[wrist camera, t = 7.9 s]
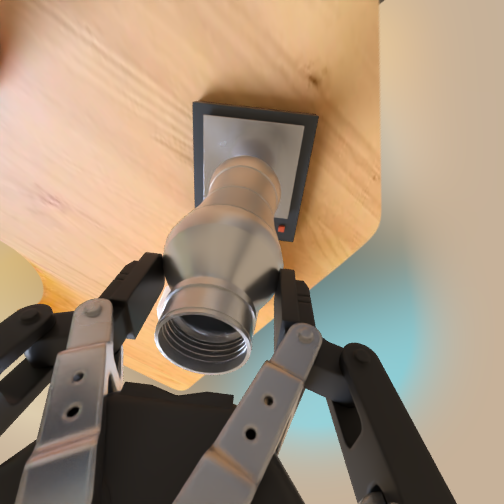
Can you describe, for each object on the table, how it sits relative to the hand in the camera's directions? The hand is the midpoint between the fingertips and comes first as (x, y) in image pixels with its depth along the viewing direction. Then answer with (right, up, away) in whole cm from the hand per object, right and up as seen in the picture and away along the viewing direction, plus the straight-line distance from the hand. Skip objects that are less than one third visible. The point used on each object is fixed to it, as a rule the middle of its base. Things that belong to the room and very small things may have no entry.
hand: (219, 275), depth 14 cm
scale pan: (+1, +11, +18) cm, 21 cm away
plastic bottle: (+1, +8, +13) cm, 16 cm away
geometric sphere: (-4, -4, +32) cm, 32 cm away
